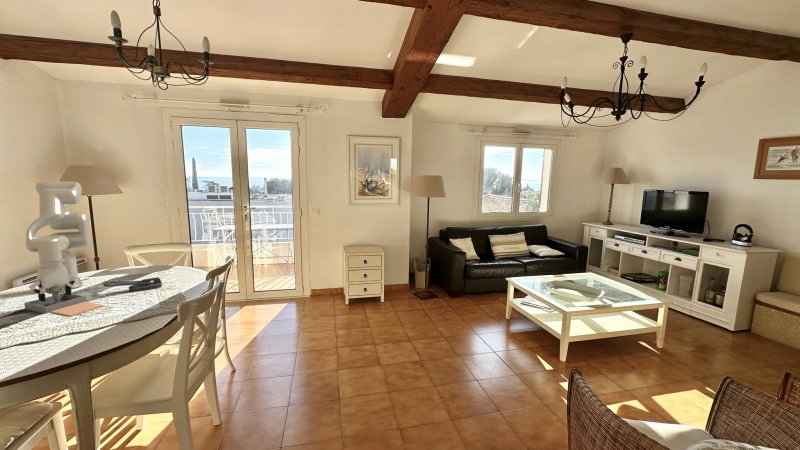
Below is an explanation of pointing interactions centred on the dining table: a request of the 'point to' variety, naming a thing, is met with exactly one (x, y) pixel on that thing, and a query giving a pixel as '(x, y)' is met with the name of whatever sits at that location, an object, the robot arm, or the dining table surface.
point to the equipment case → (74, 299)
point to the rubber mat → (77, 309)
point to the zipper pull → (137, 284)
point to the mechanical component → (55, 292)
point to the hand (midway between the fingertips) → (56, 297)
